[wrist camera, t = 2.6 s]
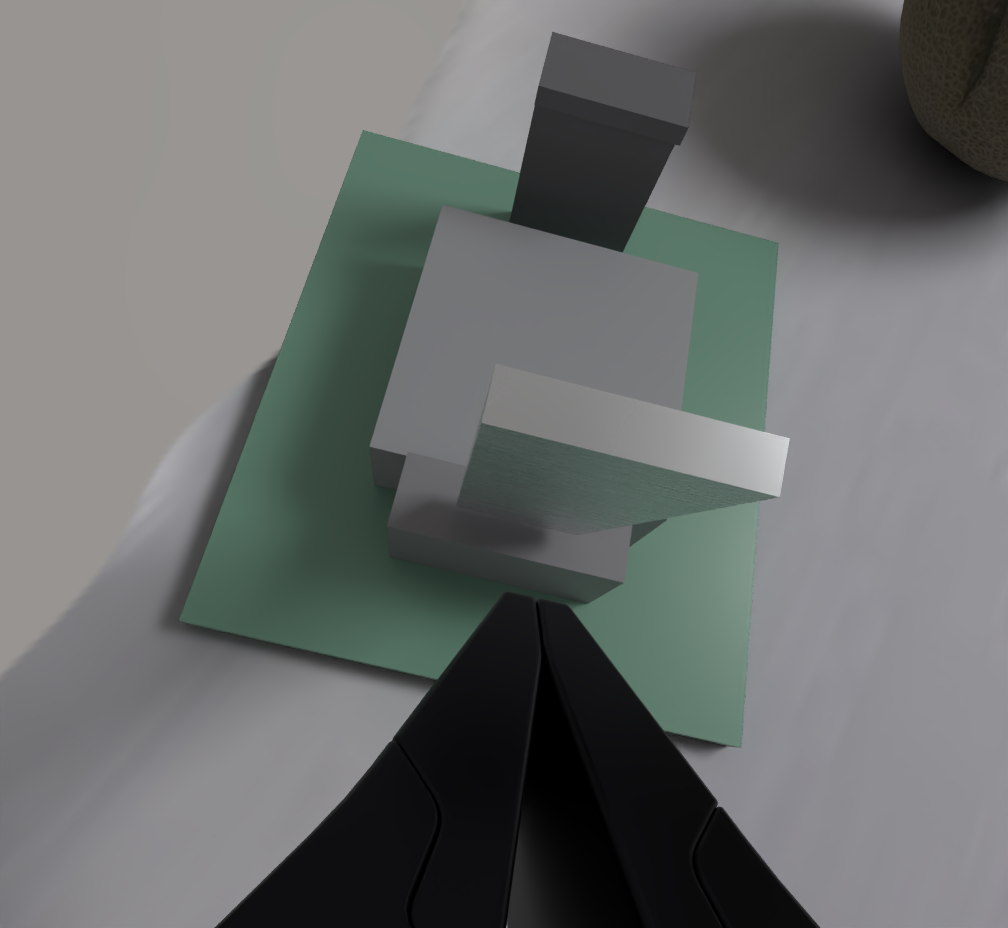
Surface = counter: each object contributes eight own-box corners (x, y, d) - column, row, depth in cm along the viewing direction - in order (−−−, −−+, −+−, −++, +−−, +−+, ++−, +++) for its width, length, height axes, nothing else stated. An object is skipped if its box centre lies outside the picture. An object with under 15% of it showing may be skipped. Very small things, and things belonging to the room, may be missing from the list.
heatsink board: (728, 746, 20) (912, 765, 13) (187, 624, 19) (57, 570, 12) (767, 256, 27) (904, 85, 19) (364, 147, 26) (349, -75, 18)
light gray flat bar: (576, 535, 17) (779, 496, 7) (455, 506, 16) (481, 421, 7) (581, 510, 17) (789, 437, 7) (461, 481, 16) (495, 363, 7)
